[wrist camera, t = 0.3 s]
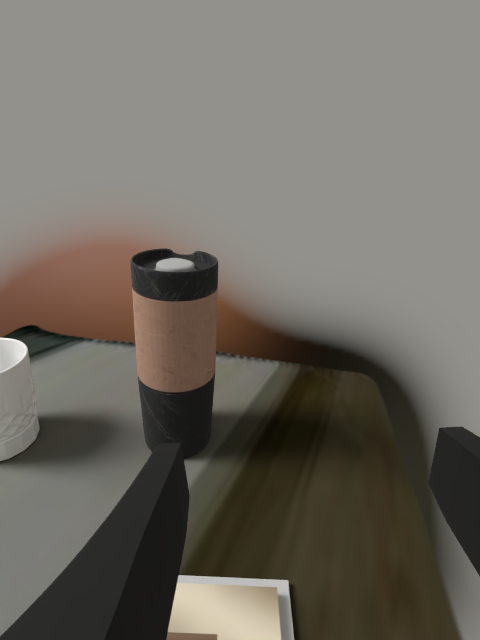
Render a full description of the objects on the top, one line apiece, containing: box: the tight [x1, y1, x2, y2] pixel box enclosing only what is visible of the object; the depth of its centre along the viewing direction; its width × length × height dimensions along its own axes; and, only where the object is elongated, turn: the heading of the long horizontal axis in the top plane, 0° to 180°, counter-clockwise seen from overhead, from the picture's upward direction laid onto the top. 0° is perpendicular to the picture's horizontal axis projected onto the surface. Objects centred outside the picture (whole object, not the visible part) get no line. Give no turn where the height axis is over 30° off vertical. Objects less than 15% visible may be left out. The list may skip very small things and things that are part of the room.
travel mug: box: [131, 249, 218, 458], centre depth 34 cm, size 8×8×20 cm
